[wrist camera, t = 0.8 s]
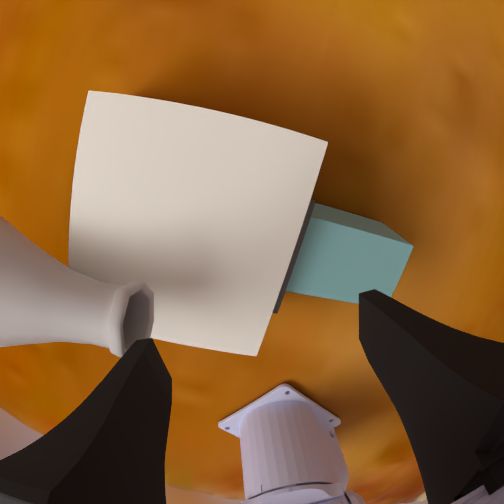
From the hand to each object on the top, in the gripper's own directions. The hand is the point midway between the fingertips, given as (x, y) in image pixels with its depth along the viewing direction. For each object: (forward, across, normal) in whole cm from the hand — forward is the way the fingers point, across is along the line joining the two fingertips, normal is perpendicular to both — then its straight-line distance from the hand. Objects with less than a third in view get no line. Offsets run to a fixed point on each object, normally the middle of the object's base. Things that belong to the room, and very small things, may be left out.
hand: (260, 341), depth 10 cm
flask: (+4, +14, -3) cm, 15 cm away
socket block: (+10, +3, -3) cm, 10 cm away
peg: (+9, -5, +1) cm, 10 cm away
